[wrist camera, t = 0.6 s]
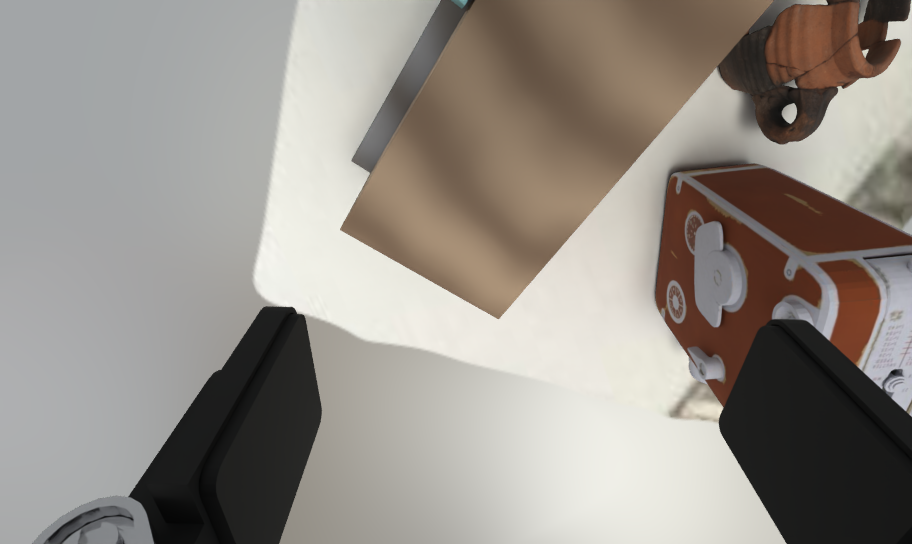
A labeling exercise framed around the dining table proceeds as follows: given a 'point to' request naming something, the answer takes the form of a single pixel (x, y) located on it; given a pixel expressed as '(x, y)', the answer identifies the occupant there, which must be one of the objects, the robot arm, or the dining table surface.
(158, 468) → the robot arm
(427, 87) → the cabinet
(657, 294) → the cine camera
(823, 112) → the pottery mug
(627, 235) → the dining table surface
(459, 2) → the door
